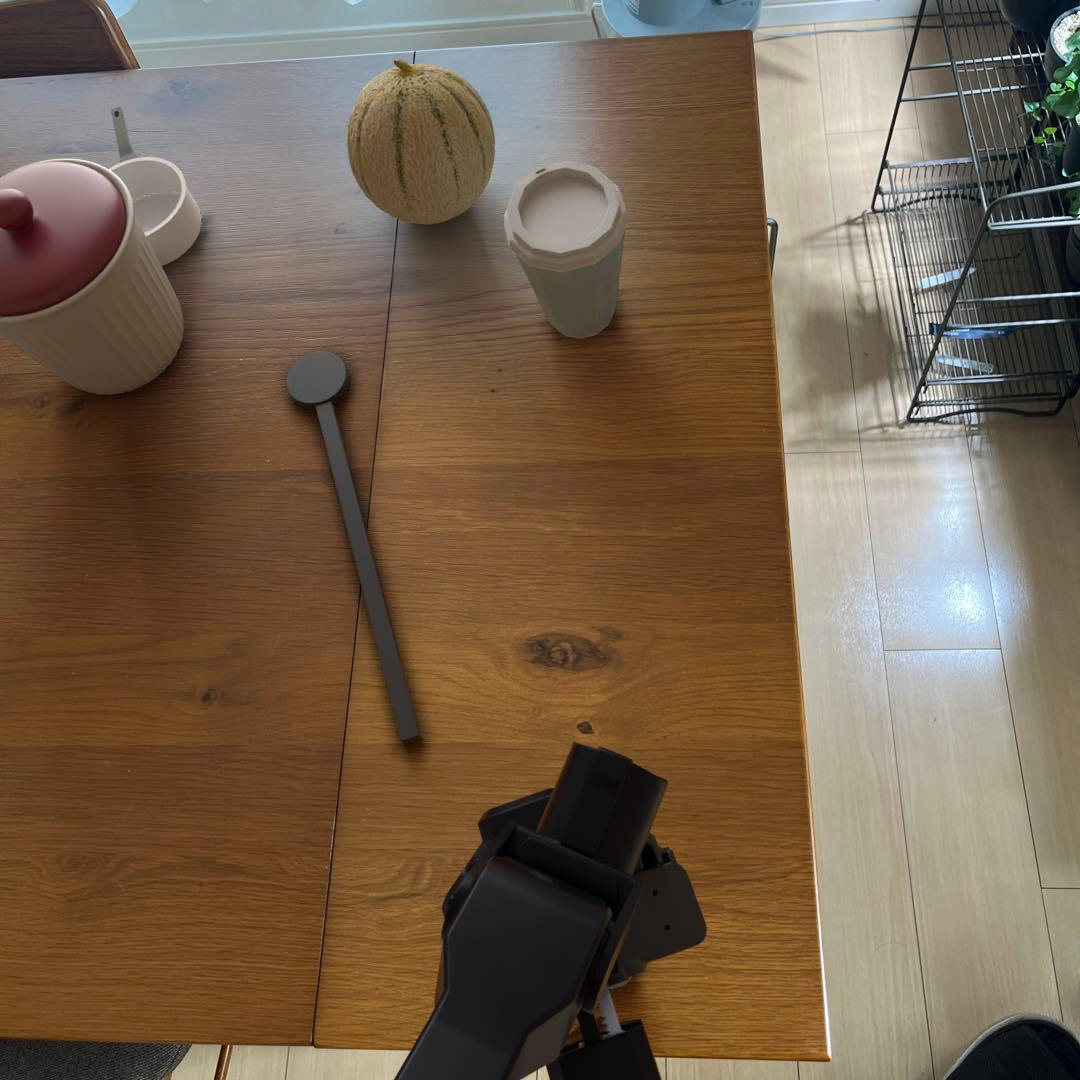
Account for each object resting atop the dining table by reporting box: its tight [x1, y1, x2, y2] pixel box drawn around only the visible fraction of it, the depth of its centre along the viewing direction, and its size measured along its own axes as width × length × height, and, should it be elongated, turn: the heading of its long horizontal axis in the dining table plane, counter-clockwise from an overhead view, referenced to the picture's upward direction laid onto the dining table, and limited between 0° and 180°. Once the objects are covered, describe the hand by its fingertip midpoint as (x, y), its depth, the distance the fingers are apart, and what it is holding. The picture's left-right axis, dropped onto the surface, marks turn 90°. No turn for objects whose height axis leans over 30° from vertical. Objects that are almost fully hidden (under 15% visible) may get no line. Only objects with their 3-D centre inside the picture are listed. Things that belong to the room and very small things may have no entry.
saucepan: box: [108, 106, 203, 267], centre depth 104 cm, size 12×20×6 cm, turn 18°
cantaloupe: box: [346, 58, 496, 225], centre depth 95 cm, size 15×15×15 cm
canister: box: [0, 158, 185, 396], centre depth 89 cm, size 18×18×21 cm
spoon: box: [285, 350, 423, 745], centre depth 86 cm, size 40×6×1 cm, turn 18°
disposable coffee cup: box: [503, 159, 630, 340], centre depth 87 cm, size 11×11×15 cm
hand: (577, 950), depth 67 cm, fingers open, 9 cm apart
